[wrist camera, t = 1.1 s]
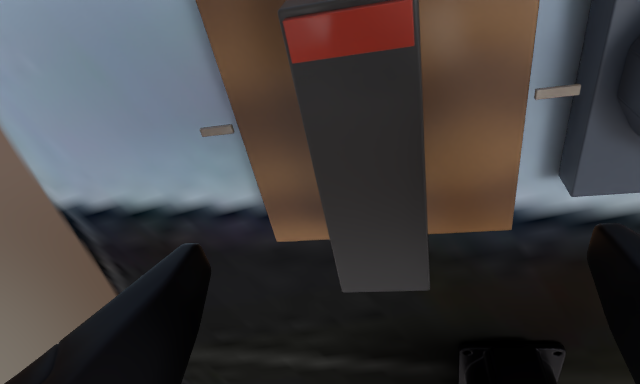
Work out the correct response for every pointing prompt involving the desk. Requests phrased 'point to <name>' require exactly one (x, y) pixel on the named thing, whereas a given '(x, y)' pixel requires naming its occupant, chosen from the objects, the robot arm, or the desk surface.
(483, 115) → the base
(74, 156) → the desk surface
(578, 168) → the button housing
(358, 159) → the box
